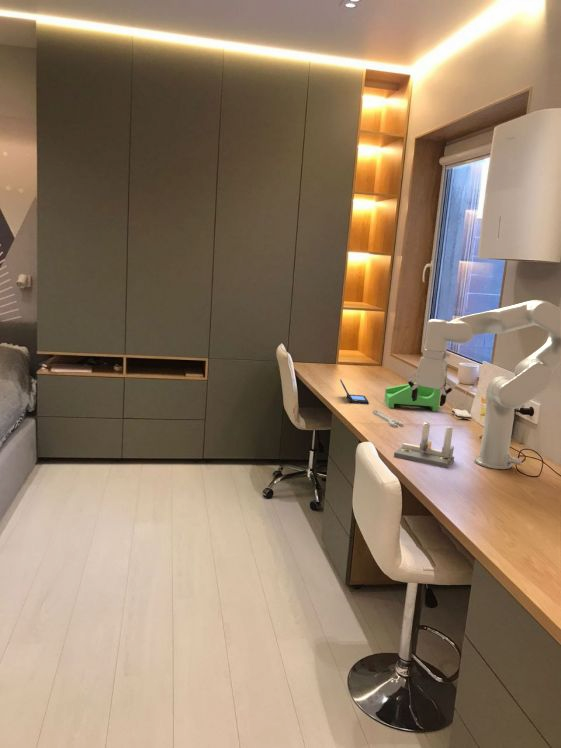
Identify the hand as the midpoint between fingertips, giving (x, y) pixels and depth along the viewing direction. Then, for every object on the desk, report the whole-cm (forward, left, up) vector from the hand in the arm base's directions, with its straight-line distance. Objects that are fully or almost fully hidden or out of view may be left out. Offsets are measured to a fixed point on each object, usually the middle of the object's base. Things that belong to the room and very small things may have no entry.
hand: (427, 403), depth 220 cm
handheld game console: (+55, -73, -21) cm, 93 cm away
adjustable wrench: (+28, -46, -21) cm, 58 cm away
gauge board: (-1, 0, -20) cm, 20 cm away
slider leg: (0, -2, -18) cm, 18 cm away
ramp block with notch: (+28, -81, -21) cm, 88 cm away
